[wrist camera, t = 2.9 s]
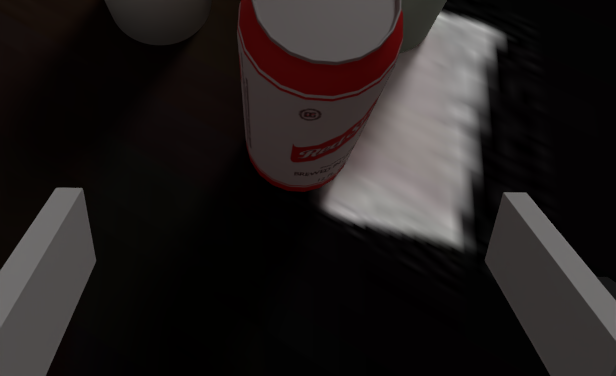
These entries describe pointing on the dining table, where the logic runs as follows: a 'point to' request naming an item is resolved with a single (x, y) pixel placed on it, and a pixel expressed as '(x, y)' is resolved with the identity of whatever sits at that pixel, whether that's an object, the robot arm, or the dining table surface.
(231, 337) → the dining table surface
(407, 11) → the sage tin
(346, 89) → the beer can
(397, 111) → the dining table surface
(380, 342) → the dining table surface
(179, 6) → the off-white tin
